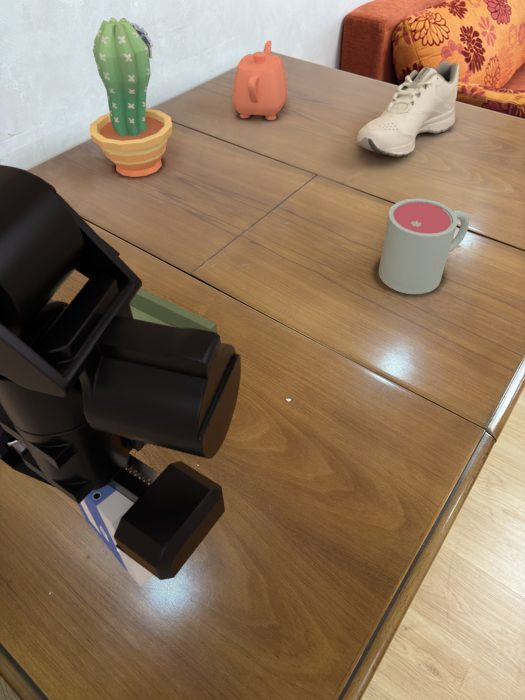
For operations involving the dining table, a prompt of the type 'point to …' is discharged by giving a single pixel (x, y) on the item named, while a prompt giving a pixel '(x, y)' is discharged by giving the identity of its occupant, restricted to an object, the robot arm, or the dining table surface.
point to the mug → (419, 244)
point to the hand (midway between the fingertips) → (116, 517)
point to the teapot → (260, 84)
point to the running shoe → (414, 111)
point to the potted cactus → (128, 100)
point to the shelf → (166, 312)
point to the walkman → (111, 525)
